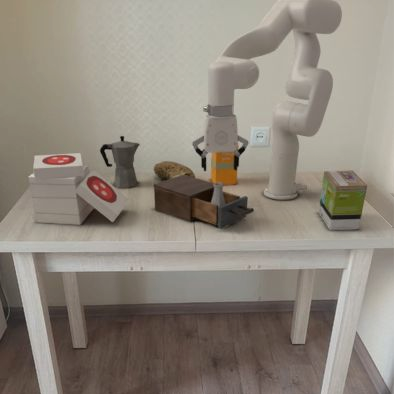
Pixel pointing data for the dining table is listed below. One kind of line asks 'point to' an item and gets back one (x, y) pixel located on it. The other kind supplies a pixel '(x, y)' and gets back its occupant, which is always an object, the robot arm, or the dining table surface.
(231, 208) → the drawer
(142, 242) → the dining table surface
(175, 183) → the cabinet
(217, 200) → the flask
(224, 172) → the orange juice
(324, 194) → the tea box
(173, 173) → the sponge
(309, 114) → the robot arm
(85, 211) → the pizza boxes
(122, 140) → the coffeepot
